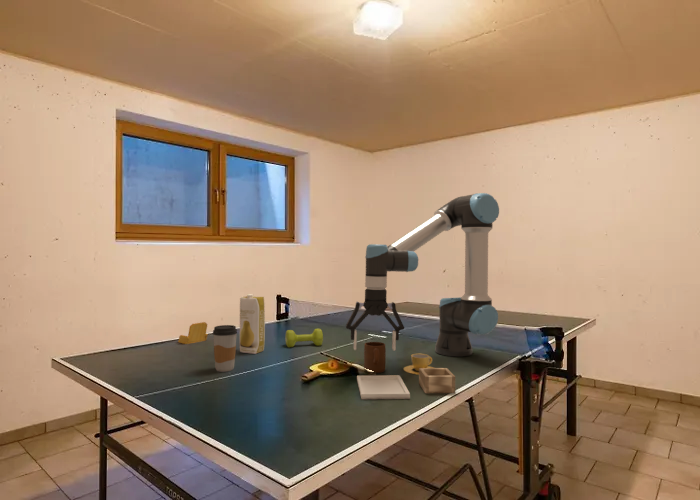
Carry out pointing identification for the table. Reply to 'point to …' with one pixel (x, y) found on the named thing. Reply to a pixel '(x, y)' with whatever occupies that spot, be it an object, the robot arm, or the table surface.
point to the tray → (382, 387)
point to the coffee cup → (224, 347)
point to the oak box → (436, 380)
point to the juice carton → (252, 324)
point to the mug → (375, 356)
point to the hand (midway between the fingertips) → (374, 349)
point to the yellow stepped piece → (195, 334)
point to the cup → (418, 363)
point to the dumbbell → (304, 337)
